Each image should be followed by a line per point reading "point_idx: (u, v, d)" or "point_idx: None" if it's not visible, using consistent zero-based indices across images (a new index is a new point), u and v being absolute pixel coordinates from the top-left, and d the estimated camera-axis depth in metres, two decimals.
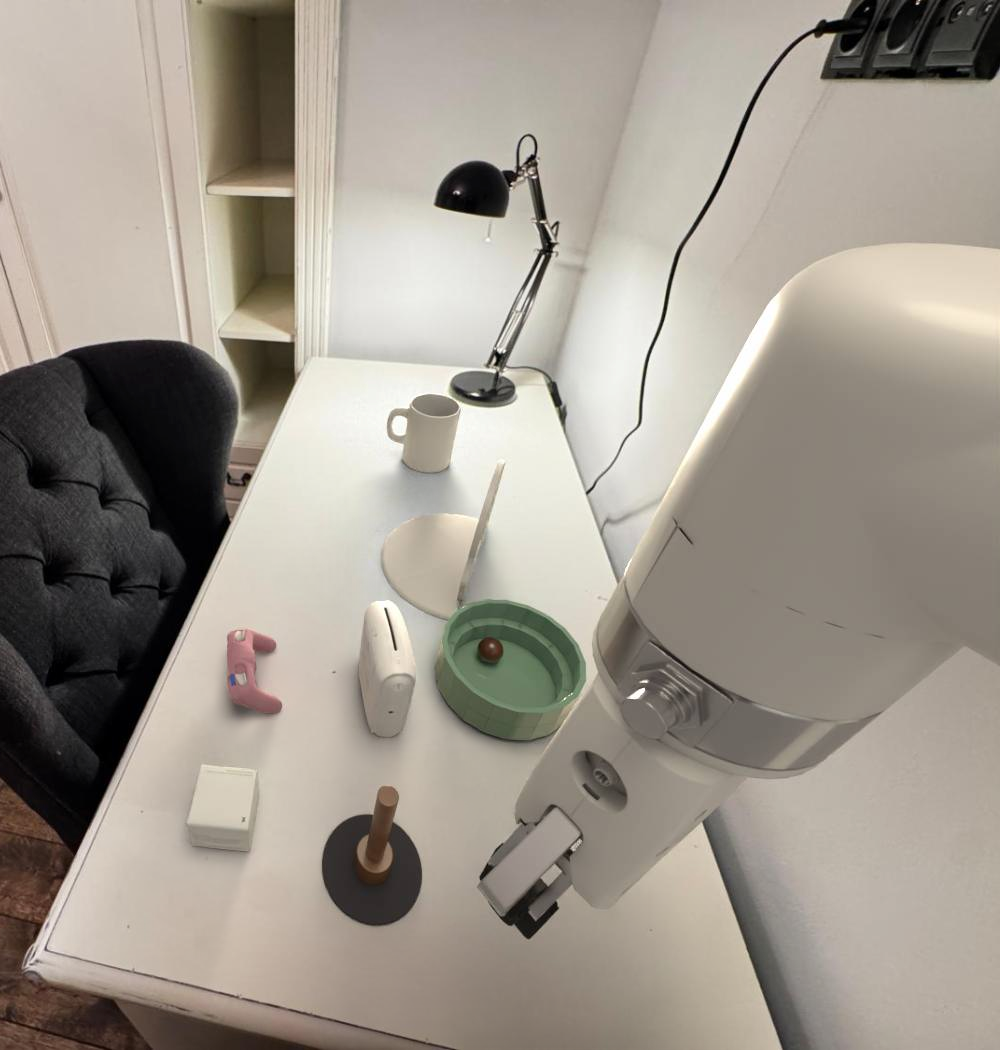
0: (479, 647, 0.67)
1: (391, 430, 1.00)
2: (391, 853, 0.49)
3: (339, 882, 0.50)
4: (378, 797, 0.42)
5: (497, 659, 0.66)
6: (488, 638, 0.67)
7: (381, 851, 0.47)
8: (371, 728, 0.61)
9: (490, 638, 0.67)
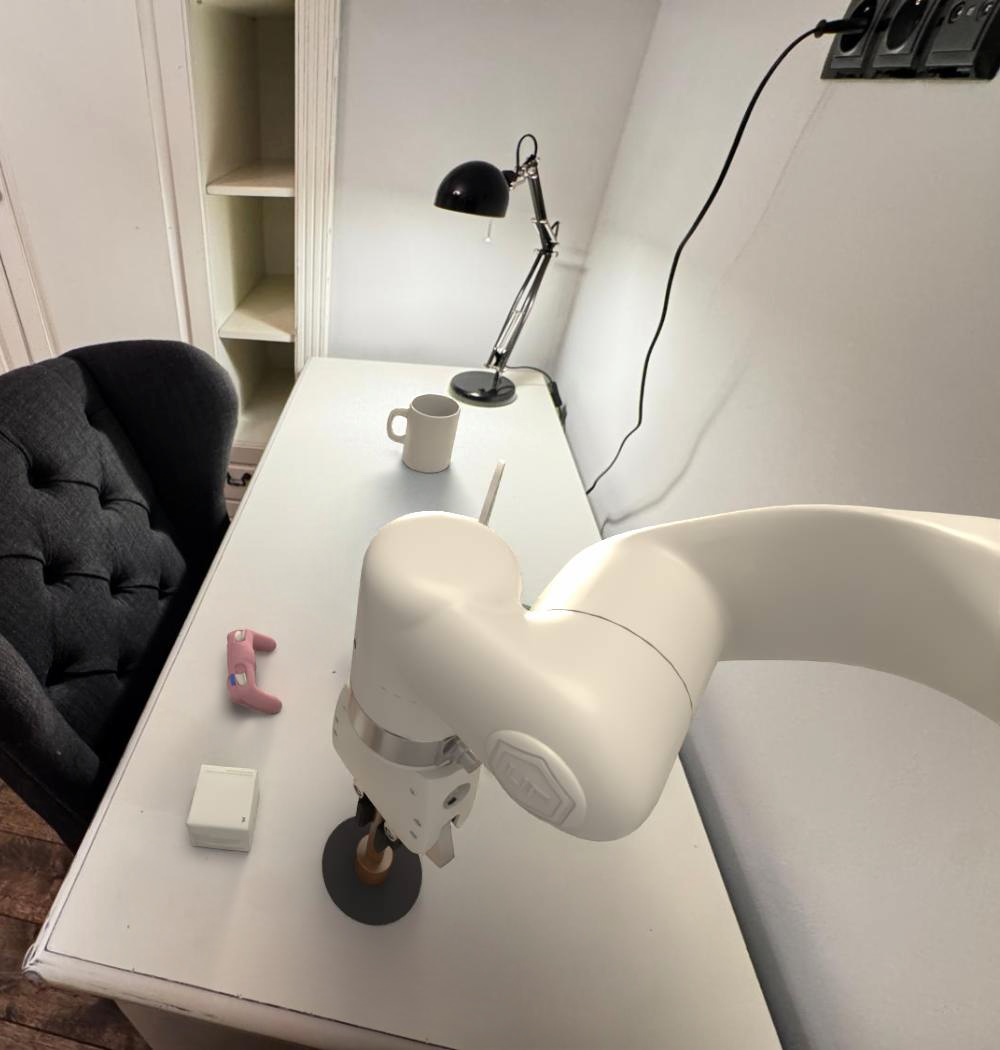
0: None
1: (391, 430, 1.00)
2: (391, 853, 0.49)
3: (339, 882, 0.50)
4: None
5: None
6: None
7: None
8: None
9: None
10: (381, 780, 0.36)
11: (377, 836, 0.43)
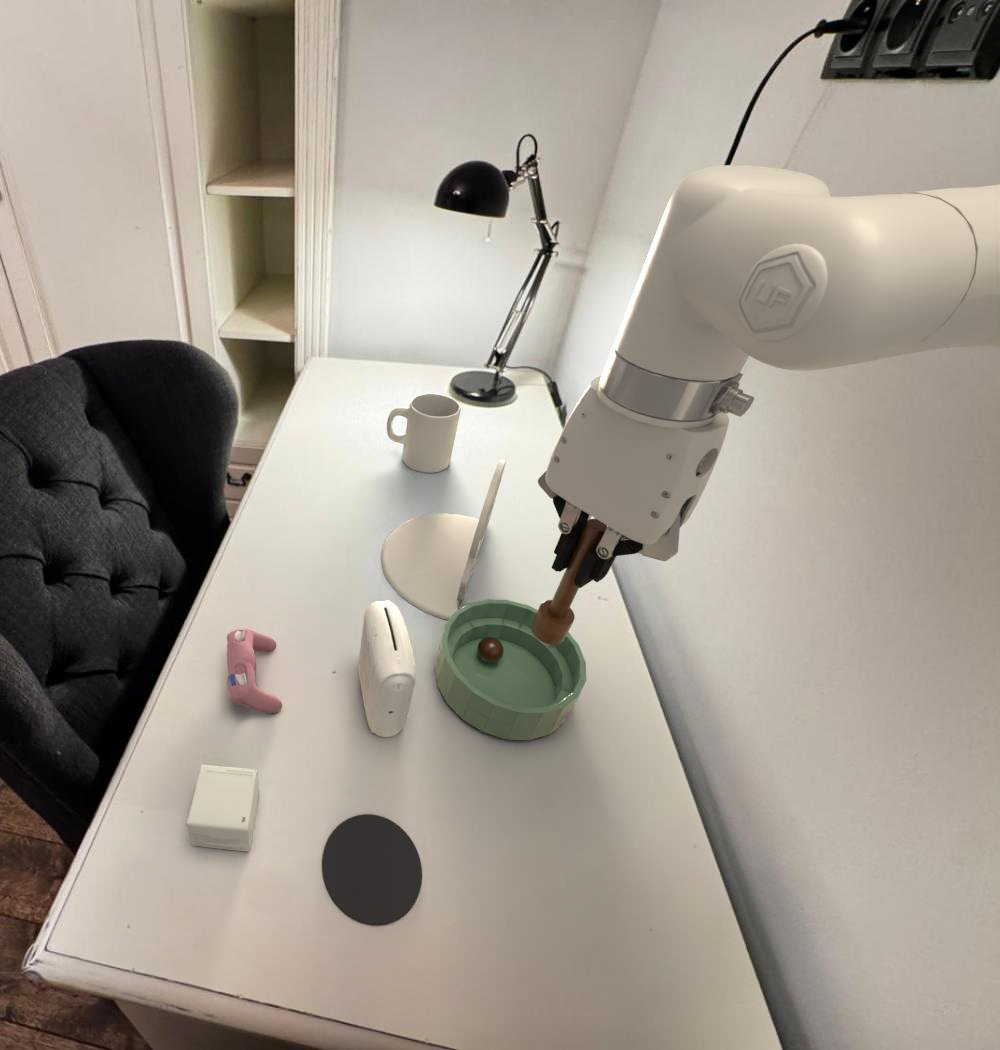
0: (479, 647, 0.67)
1: (391, 430, 1.00)
2: (572, 612, 0.54)
3: (339, 882, 0.50)
4: (588, 526, 0.47)
5: (497, 659, 0.66)
6: (488, 638, 0.67)
7: (570, 601, 0.52)
8: (371, 728, 0.61)
9: (490, 638, 0.67)
10: (624, 469, 0.41)
11: (585, 564, 0.47)
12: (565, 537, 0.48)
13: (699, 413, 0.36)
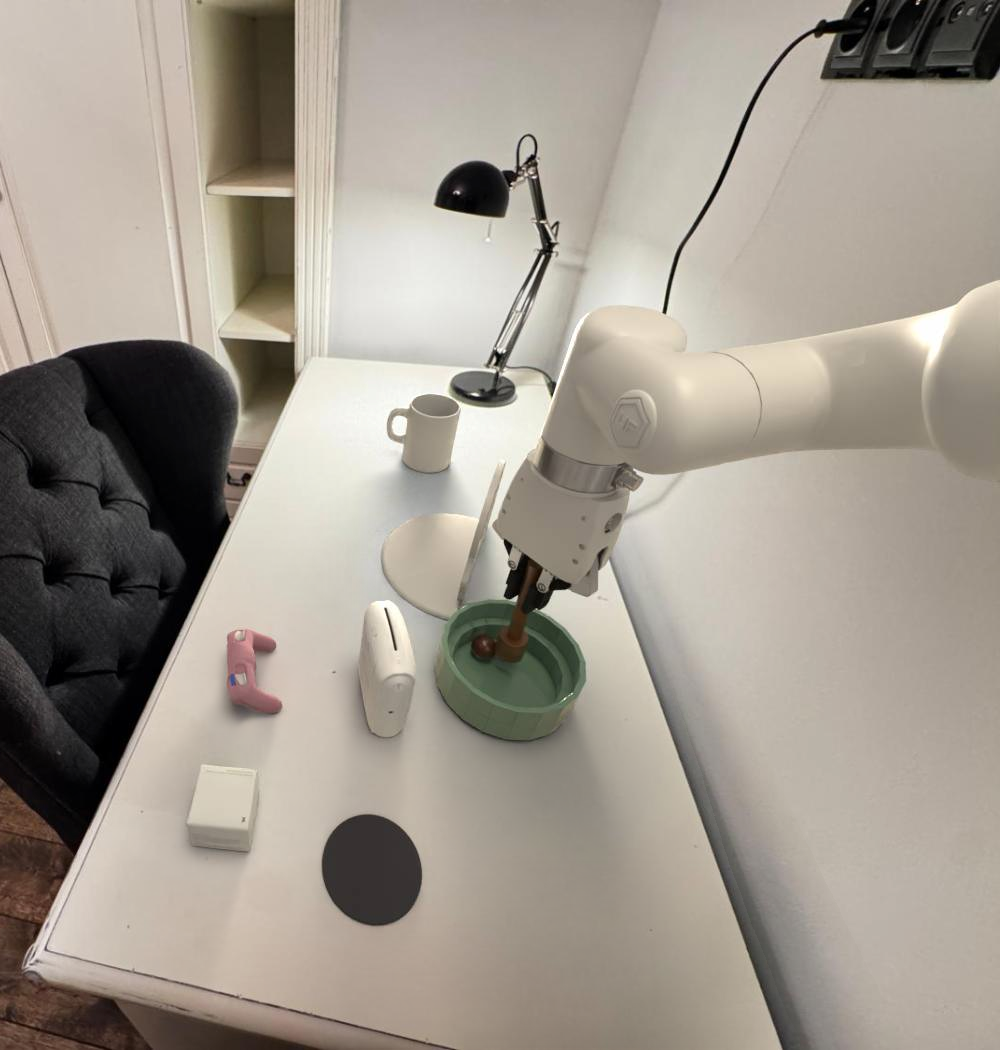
0: (471, 647, 0.68)
1: (391, 430, 1.00)
2: (527, 635, 0.64)
3: (339, 882, 0.50)
4: (529, 564, 0.57)
5: (490, 652, 0.67)
6: (477, 636, 0.68)
7: (522, 626, 0.62)
8: (371, 728, 0.61)
9: (478, 635, 0.68)
10: (552, 524, 0.51)
11: (528, 595, 0.58)
12: (512, 572, 0.59)
13: (603, 487, 0.46)
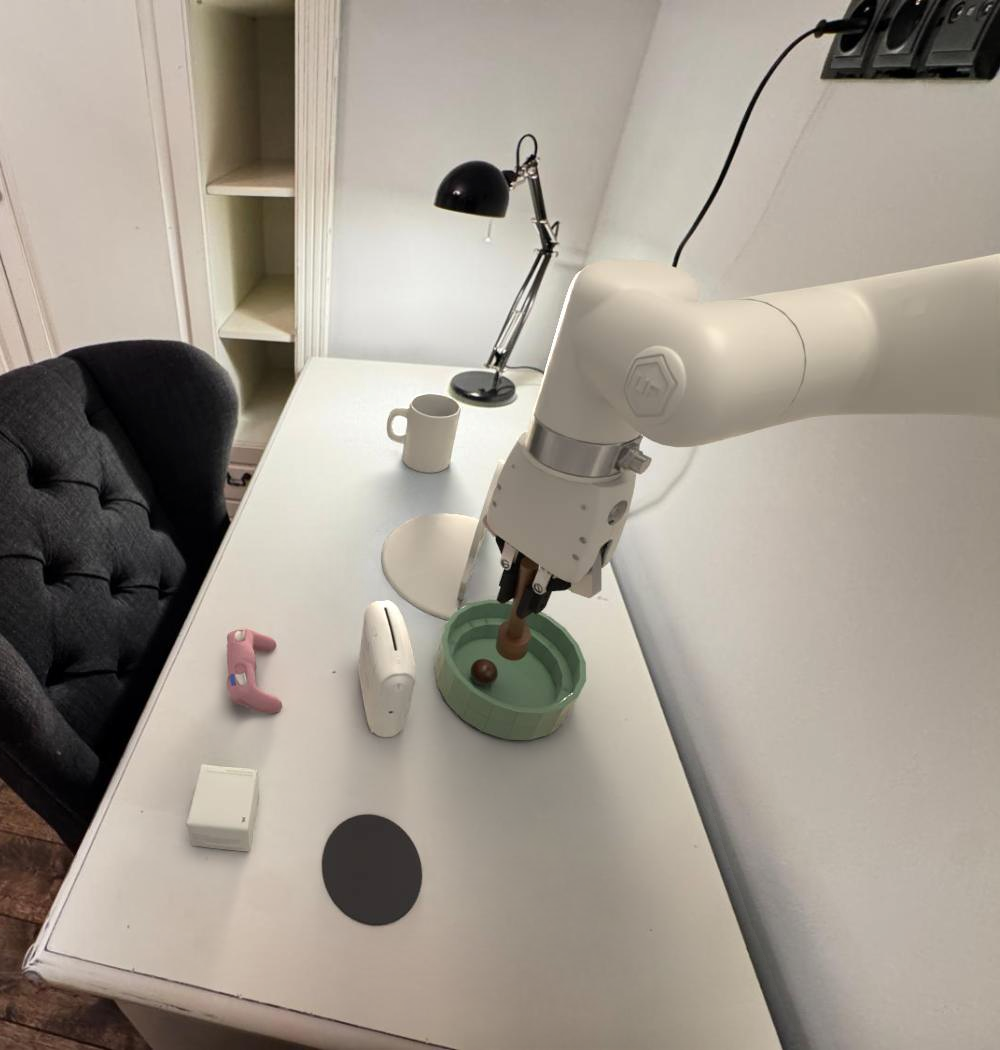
0: (473, 665, 0.65)
1: (391, 430, 1.00)
2: (529, 633, 0.58)
3: (339, 882, 0.50)
4: (521, 564, 0.51)
5: None
6: (479, 676, 0.64)
7: (521, 625, 0.56)
8: (371, 728, 0.61)
9: (480, 678, 0.64)
10: (548, 516, 0.45)
11: (524, 598, 0.52)
12: (506, 573, 0.53)
13: (605, 470, 0.40)
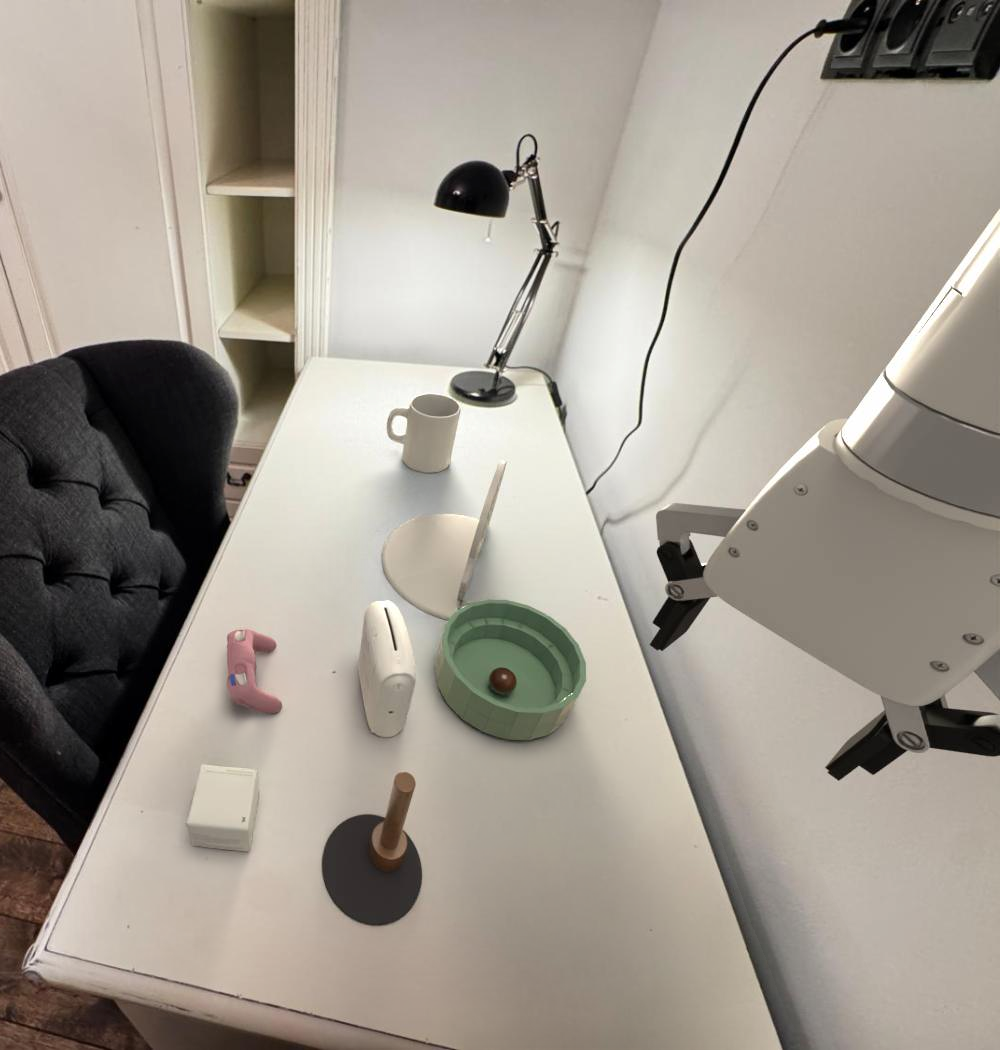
0: (502, 669, 0.64)
1: (391, 430, 1.00)
2: (405, 843, 0.50)
3: (339, 882, 0.50)
4: (395, 782, 0.43)
5: None
6: (493, 678, 0.64)
7: (395, 838, 0.48)
8: (371, 728, 0.61)
9: (491, 679, 0.64)
10: (884, 587, 0.24)
11: (863, 750, 0.28)
12: (677, 606, 0.33)
13: None
